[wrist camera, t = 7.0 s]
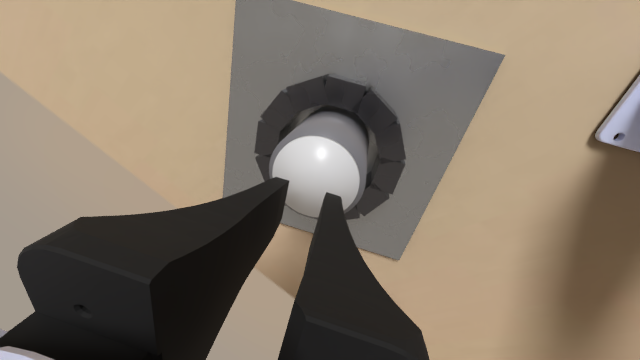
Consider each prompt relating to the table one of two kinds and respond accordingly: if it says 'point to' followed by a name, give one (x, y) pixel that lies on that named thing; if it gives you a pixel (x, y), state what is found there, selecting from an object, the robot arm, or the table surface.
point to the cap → (323, 160)
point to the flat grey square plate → (352, 106)
